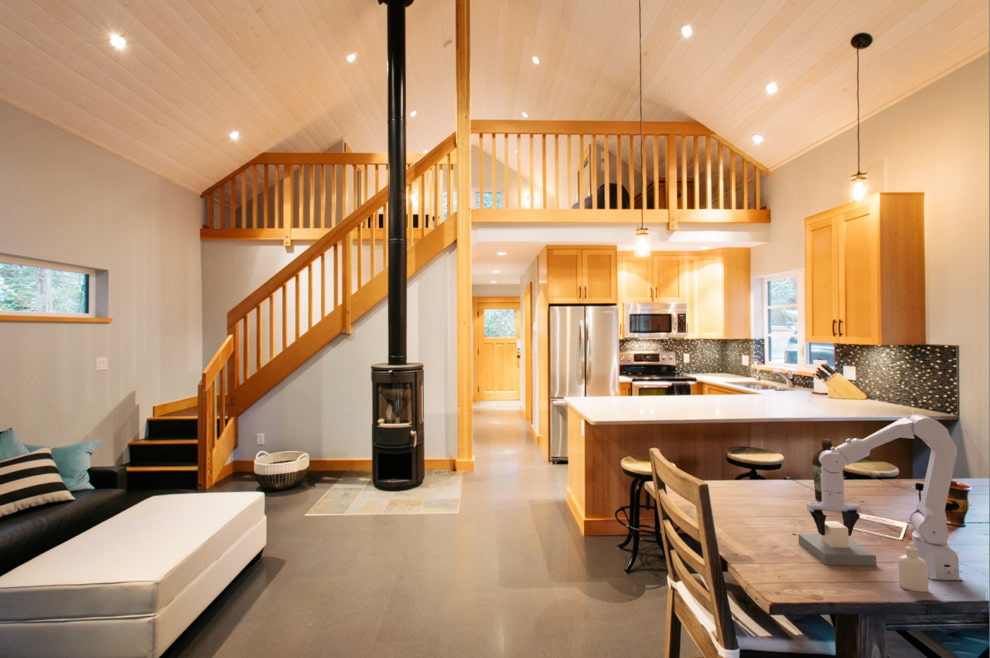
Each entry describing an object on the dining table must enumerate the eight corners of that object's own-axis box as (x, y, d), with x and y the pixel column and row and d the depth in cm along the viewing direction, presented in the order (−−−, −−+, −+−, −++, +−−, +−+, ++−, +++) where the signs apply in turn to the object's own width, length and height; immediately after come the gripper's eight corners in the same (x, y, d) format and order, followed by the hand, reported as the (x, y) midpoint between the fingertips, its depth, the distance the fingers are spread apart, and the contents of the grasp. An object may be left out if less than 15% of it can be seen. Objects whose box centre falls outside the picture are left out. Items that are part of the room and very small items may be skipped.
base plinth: (876, 565, 132) (876, 555, 132) (825, 564, 134) (825, 554, 134) (844, 544, 146) (844, 534, 146) (798, 543, 148) (798, 533, 148)
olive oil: (833, 496, 189) (831, 436, 189) (852, 505, 178) (849, 442, 179) (807, 496, 189) (805, 436, 190) (824, 505, 179) (822, 442, 179)
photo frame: (907, 522, 160) (901, 538, 147) (907, 525, 160) (901, 542, 147) (855, 511, 170) (845, 526, 158) (855, 514, 170) (846, 529, 158)
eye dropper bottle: (901, 581, 124) (899, 537, 124) (929, 589, 119) (927, 543, 120) (898, 587, 121) (895, 541, 121) (926, 595, 117) (924, 549, 117)
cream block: (848, 547, 137) (848, 527, 137) (831, 547, 138) (830, 527, 138) (837, 540, 142) (837, 521, 142) (821, 540, 143) (820, 521, 143)
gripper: (848, 486, 144) (850, 529, 143) (800, 485, 145) (802, 528, 145) (864, 493, 137) (866, 539, 136) (813, 493, 138) (815, 538, 138)
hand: (834, 534), depth 140 cm, fingers open, 7 cm apart
